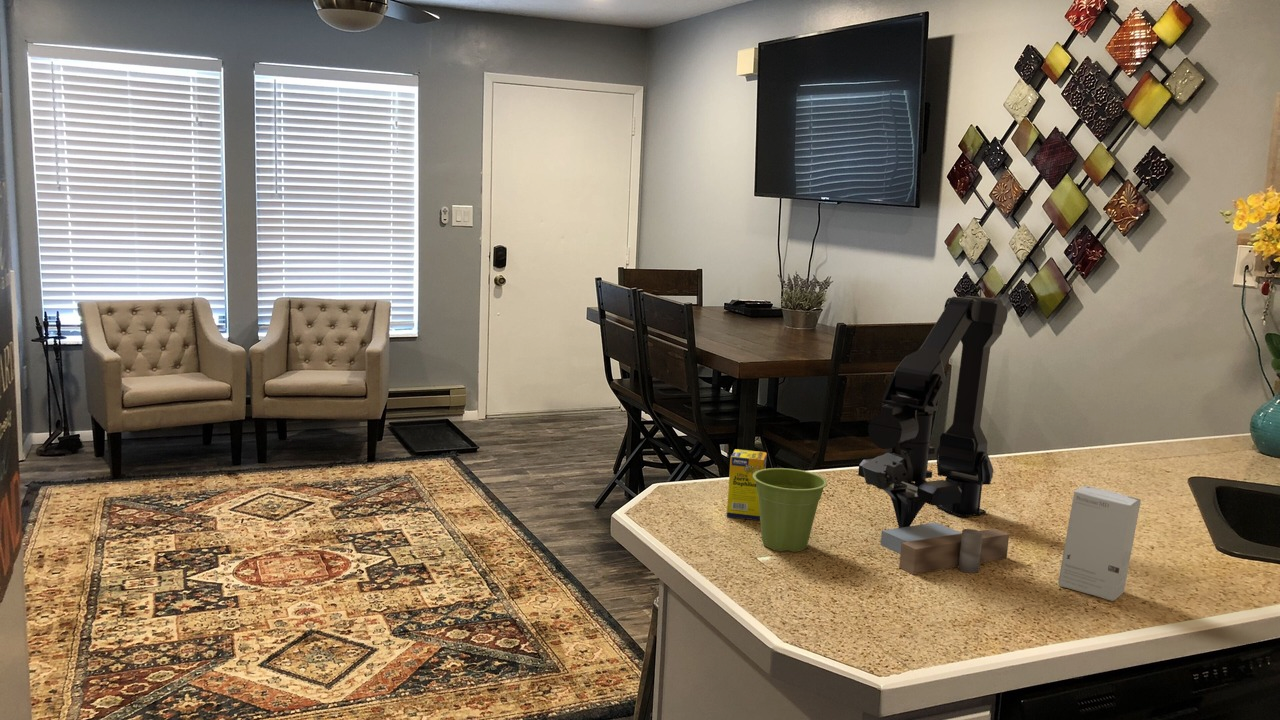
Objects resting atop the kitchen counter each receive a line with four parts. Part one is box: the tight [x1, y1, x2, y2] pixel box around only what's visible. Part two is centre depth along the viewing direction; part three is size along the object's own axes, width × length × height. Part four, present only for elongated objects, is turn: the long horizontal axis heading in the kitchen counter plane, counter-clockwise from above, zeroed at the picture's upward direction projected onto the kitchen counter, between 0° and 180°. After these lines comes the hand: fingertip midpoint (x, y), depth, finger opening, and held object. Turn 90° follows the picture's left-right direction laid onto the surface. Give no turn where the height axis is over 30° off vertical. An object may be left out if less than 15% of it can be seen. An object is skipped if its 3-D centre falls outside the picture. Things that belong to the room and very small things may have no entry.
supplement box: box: [726, 448, 768, 521], centre depth 174 cm, size 6×6×11 cm
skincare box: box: [1058, 485, 1142, 602], centre depth 146 cm, size 8×6×15 cm
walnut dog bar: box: [898, 528, 1010, 575], centre depth 154 cm, size 20×6×6 cm, turn 118°
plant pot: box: [753, 467, 828, 553], centre depth 159 cm, size 12×12×11 cm
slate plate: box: [880, 521, 962, 555], centre depth 162 cm, size 12×8×3 cm, turn 119°
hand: (903, 530), depth 166 cm, fingers closed
